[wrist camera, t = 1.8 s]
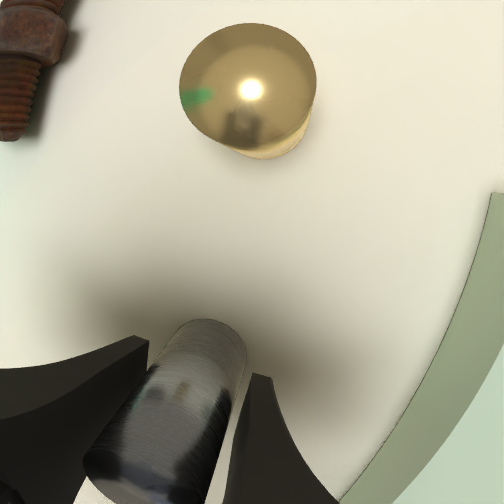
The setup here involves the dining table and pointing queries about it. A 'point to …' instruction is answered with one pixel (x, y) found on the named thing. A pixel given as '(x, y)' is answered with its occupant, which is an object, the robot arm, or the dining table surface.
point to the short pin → (250, 89)
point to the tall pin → (171, 421)
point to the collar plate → (453, 402)
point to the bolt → (26, 56)
